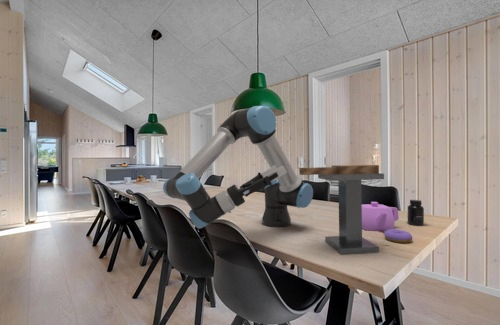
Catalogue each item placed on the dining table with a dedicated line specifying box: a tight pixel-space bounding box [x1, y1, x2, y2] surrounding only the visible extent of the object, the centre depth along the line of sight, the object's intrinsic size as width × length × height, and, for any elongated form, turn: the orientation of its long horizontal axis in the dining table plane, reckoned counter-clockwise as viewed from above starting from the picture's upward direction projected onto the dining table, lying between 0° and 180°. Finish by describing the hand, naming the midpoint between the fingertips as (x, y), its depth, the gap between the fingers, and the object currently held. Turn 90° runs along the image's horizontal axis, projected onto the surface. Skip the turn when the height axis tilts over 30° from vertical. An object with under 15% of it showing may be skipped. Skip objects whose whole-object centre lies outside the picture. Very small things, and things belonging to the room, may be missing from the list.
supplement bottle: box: [407, 199, 425, 227], centre depth 125 cm, size 7×7×12 cm
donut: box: [383, 228, 413, 244], centre depth 102 cm, size 10×9×5 cm
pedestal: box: [317, 172, 385, 255], centre depth 95 cm, size 20×14×28 cm
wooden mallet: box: [299, 164, 380, 176], centre depth 94 cm, size 28×9×3 cm, turn 96°
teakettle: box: [362, 201, 400, 232], centre depth 121 cm, size 17×17×12 cm
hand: (280, 168), depth 92 cm, fingers open, 13 cm apart
